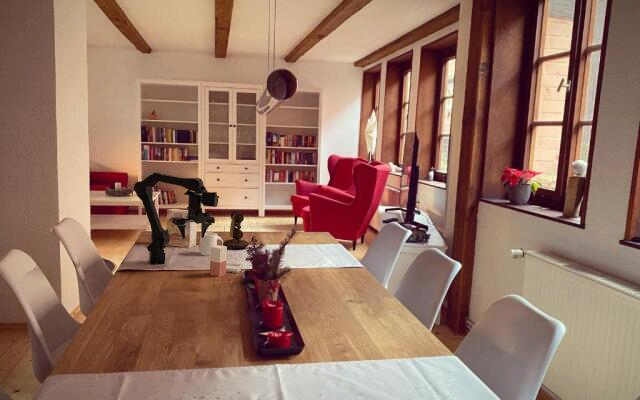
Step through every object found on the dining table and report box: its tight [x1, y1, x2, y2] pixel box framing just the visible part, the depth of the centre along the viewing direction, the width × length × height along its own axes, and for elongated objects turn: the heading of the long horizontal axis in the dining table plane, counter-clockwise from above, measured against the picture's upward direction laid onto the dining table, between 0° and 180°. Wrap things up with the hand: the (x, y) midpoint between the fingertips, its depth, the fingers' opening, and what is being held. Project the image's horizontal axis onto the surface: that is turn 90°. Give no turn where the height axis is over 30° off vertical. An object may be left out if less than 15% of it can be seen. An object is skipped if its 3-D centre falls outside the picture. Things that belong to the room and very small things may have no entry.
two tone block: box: [209, 244, 228, 277], centre depth 215 cm, size 5×5×12 cm
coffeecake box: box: [165, 208, 198, 249], centre depth 267 cm, size 15×7×20 cm, turn 73°
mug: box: [199, 231, 224, 257], centre depth 252 cm, size 9×12×11 cm
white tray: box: [226, 262, 244, 274], centre depth 225 cm, size 10×10×2 cm
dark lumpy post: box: [223, 210, 250, 250], centre depth 271 cm, size 15×15×20 cm
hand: (193, 238), depth 226 cm, fingers open, 9 cm apart
